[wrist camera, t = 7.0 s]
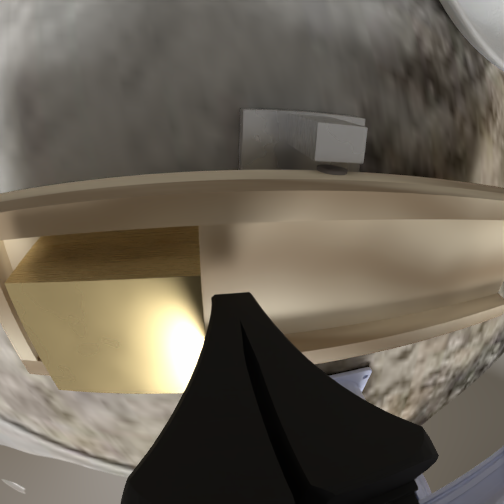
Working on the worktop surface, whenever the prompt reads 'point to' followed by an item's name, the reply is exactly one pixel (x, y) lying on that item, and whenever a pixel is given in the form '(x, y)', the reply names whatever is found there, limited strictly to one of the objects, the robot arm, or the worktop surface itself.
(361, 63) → the worktop surface
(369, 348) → the beam
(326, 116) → the stand
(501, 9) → the spoon rest
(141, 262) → the block
